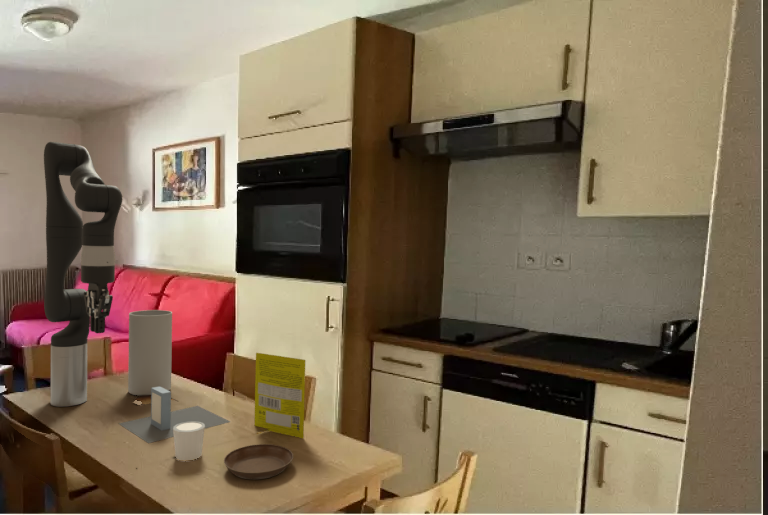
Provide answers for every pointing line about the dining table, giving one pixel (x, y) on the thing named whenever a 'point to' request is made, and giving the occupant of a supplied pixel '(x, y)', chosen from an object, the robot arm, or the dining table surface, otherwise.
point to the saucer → (258, 461)
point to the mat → (172, 423)
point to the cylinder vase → (149, 351)
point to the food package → (280, 394)
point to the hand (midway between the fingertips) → (97, 331)
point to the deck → (160, 408)
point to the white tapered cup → (188, 440)
